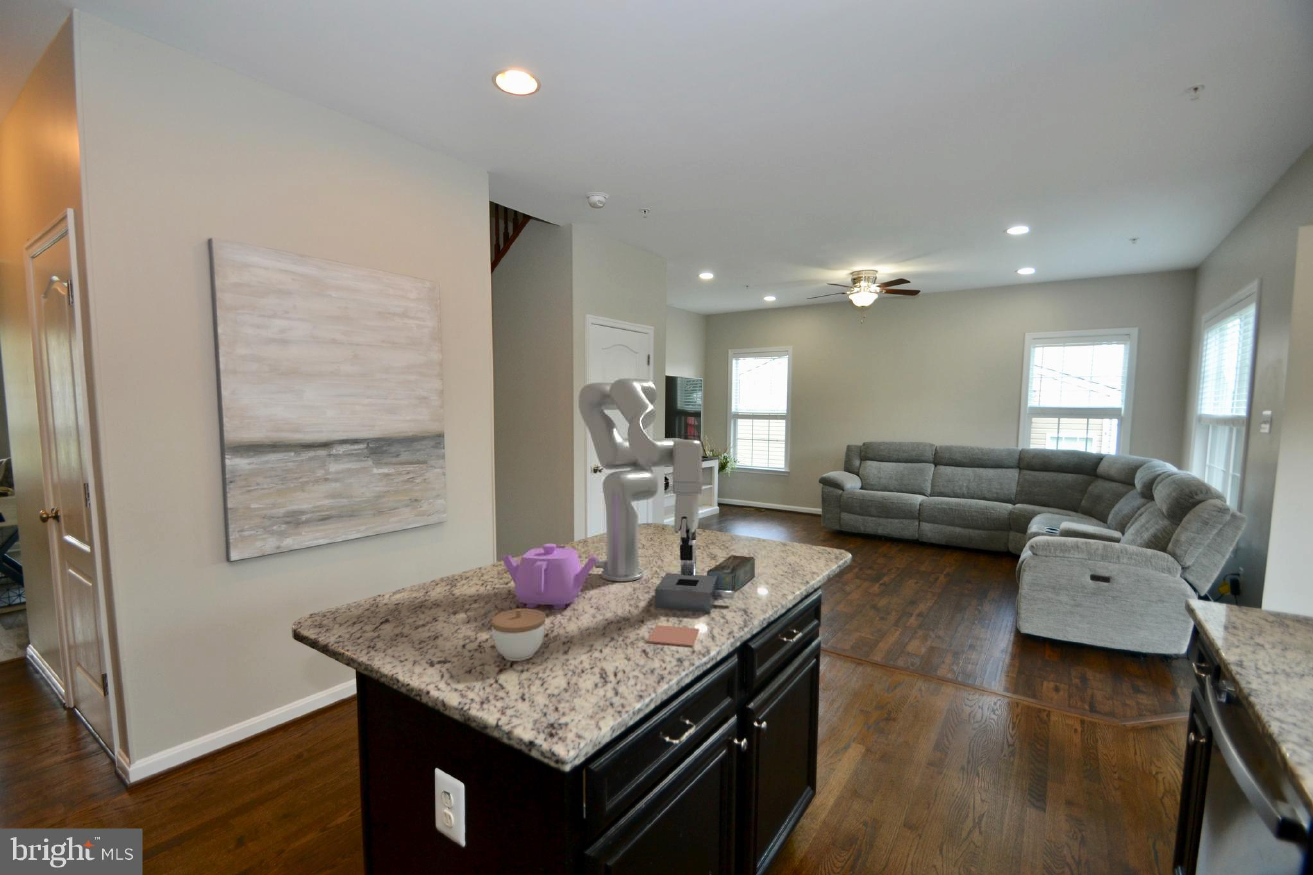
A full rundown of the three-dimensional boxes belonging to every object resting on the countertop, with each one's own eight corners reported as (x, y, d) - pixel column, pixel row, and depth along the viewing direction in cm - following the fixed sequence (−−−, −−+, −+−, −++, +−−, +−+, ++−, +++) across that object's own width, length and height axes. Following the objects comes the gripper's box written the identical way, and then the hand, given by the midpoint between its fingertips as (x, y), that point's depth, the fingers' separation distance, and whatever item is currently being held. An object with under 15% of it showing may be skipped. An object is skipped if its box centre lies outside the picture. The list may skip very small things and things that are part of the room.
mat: (646, 642, 121) (646, 640, 121) (656, 626, 130) (656, 624, 130) (692, 646, 119) (692, 644, 119) (699, 630, 128) (699, 628, 128)
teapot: (600, 602, 146) (599, 545, 146) (538, 620, 134) (537, 557, 133) (559, 585, 161) (559, 533, 160) (500, 600, 148) (499, 543, 148)
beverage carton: (705, 591, 156) (705, 568, 155) (731, 574, 172) (731, 552, 172) (732, 596, 152) (732, 572, 151) (756, 577, 168) (756, 555, 168)
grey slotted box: (655, 608, 142) (655, 588, 142) (666, 590, 156) (666, 573, 155) (730, 614, 138) (730, 594, 137) (736, 595, 151) (736, 577, 151)
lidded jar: (524, 639, 123) (523, 597, 123) (556, 652, 116) (556, 608, 116) (481, 656, 115) (480, 611, 114) (513, 671, 108) (512, 623, 108)
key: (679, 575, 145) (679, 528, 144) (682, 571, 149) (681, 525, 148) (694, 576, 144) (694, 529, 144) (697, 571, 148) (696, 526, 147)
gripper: (679, 483, 155) (679, 549, 155) (666, 491, 138) (667, 565, 139) (706, 483, 153) (706, 550, 154) (696, 492, 137) (697, 567, 137)
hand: (688, 557), depth 146 cm, fingers closed on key, 4 cm apart
